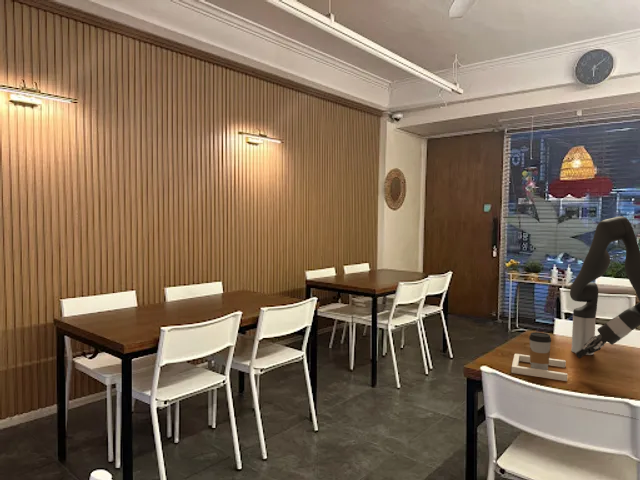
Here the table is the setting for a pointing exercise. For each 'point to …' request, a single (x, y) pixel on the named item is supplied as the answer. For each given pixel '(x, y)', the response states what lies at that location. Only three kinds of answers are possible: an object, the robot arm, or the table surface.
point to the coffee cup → (539, 350)
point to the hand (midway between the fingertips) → (577, 356)
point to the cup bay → (538, 372)
